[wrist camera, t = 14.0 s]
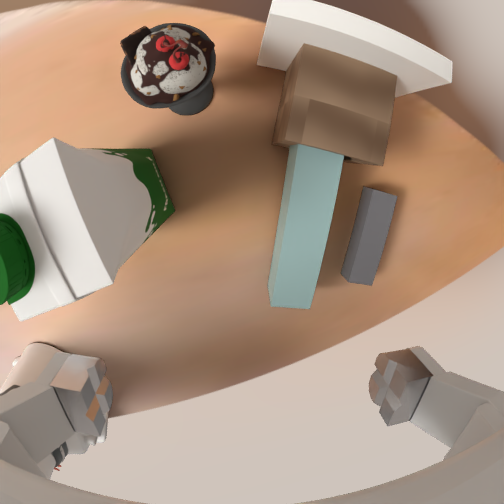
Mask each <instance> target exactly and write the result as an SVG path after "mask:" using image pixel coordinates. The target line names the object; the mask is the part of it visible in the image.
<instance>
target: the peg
mask: <svg viewBox="0 0 504 504" xmlns="http://www.w3.org/2000/svg"><path fill="white" fill-rule="evenodd" d="M343 159H344V155H340V154H336V153H333V152H329V151H325V150H321V149H317V148H313V147H309V146H305V145H301V144H296V145H290V148H289V155H288V162H287V168H286V175H285V182H284V188H283V195H282V201H281V207H280V214H279V220H278V226H277V232H276V238H275V244H274V250H273V256H272V262H271V268H270V274H269V280H268V292H269V298H270V305H271V306H272V307H287V308H302V309H310V307H311V303H312V299H313V295H314V292H315V288H316V284H317V280H318V276H319V272H320V268H321V264H322V260H323V255H324V251H325V247H326V243H327V238H328V234H329V229H330V225H331V220H332V215H333V211H334V206H335V201H336V196H337V191H338V186H339V181H340V175H341V170H342V165H343Z"/></svg>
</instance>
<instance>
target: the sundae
mask: <svg viewBox="0 0 504 504" xmlns="http://www.w3.org/2000/svg"><path fill="white" fill-rule="evenodd" d="M120 44H121V47H122V49H123V51H124V53H125V55H126V56H125V58H124V60H123V63H122V68H121V78H122V83H123V86H124V88H125V90H126V91H127V93H128V94H129V95H130V96H131V98H132V99H133V100H134V101H136V102H137V103H139V104H141V105H143V106H145V107H149V108H167V107H169V108H170V109H171V110H172V111H173V112H175V113H177V114H180V115H193V114H196V113H199V112H200V111H202V110H203V109H204V108H206V107H207V106H208V104H209V103H210V101H211V99H212V96H213V85H212V82H211V79H212V77H213V74H214V71H215V63H216V55H215V50H214V46H215V45H214V43H213V42H212V41H211V40H210V39H209V38H208V36H207V35H206V34H205V33H204V32H202V31H201V30H199V29H197V28H195V27H192V26H190V25H186V24H181V23H167V24H162V25H159V26H156V27H153V28H151V29H149V28H147V27H146V26H144V27H142V28H140V29H138V30H136V31H135V32H133V33H132V34H130V35H129V36H128V37H126V38H124V39H123V40H121V43H120Z"/></svg>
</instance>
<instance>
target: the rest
mask: <svg viewBox="0 0 504 504" xmlns="http://www.w3.org/2000/svg"><path fill="white" fill-rule="evenodd" d="M396 200H397V196H395V195H392V194H388V193H385V192H382V191H378V190H375V189H371V188H368V187H364V186H363V190H362V194H361V199H360V203H359V207H358V211H357V215H356V219H355V223H354V227H353V231H352V235H351V238H350V242H349V246H348V249H347V253H346V257H345V260H344V264H343V267H342V270H341V274H342V276H343V277H344V278H345V279H346V280H347V281H348V282H350V283H357V284H364V285H371V286H372V284H373V281H374V278H375V275H376V272H377V268H378V265H379V262H380V259H381V255H382V252H383V249H384V245H385V242H386V238H387V235H388V231H389V227H390V224H391V220H392V216H393V212H394V208H395V204H396Z"/></svg>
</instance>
